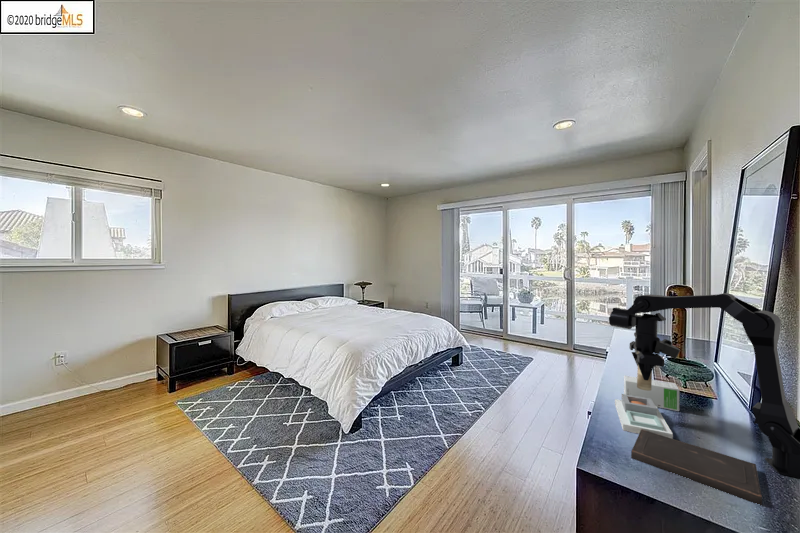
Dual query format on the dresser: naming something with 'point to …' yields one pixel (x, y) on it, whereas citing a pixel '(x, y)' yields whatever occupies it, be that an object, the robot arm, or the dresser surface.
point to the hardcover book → (699, 465)
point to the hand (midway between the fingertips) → (644, 377)
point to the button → (637, 402)
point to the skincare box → (655, 392)
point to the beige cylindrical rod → (643, 381)
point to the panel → (641, 416)
